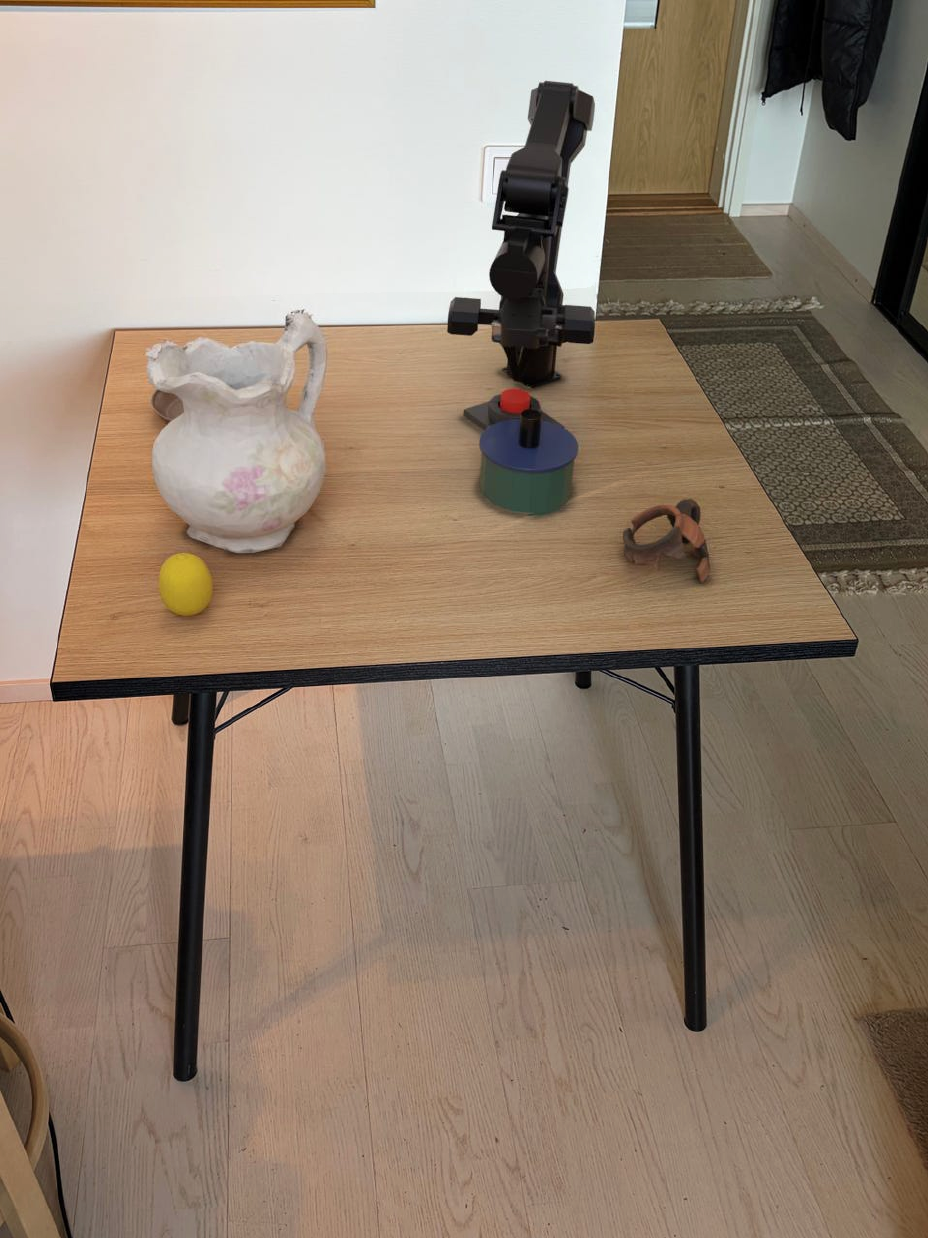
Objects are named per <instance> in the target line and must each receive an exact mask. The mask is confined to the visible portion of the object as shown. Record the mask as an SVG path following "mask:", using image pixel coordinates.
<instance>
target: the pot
mask: <svg viewBox="0 0 928 1238" xmlns="http://www.w3.org/2000/svg"><path fill="white" fill-rule="evenodd" d="M480 456H481V457H480V470H479V471H480V474H479V489H480V491H481V493H482V495H483V497H484V498H486V499H487V500H488V501H489V502H490V503H492V505H494V506H497V507H499V508H502V509H505V510H507V511H510V512H517V513H518V512H519V513H526V514H527V515H526V517H536V516H544V515H548V514H553V513H555V512H557V511H558V510H560V509H563V508H564V507H565V506H566V505H567V503H568V502H569V499H570V497H571V492H572V485H573V476H574V467H575V460H576V458H575V459H574V461H573V462H571V463H570V464H569V465H567V466H565V467H563V468H561V469H558V470H555V471H550V472H544V473H525V472H518V471H513V470H509V469H506V468H503V467H500V466H498V465H496V464H494V463H492V462H491V461H489V460H488V459H487V458H486V457H485V456H484V455H483V454H482V453H481V455H480Z"/></svg>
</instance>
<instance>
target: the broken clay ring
mask: <svg viewBox="0 0 928 1238" xmlns="http://www.w3.org/2000/svg"><path fill="white" fill-rule="evenodd" d="M701 513H702V512H701V507H700V505H699V504H698V502H697V501H696V500H694V499H692V498H687V499H682V500H680V501H679V502H678V503H677V504H676V505H675V506H673V505H670V504H659V505H655V506H652V507H649V508H646V509H645V510H643V511H641V512H640V513H638V514H636V515H635V516H634V517H633V518H632V519H631V520H630V522H631V525H632V528H631V527H627V528H626V529H624V531H623V532H622V539H623V543H624V548H623V554H624V557H625V558H626V560H627V561H628V562H630V564H635V565H638V566H648V567H649V566H650V567H651V568H652V569H654V570H656V571H659V570H660V567H659V566H660V561H661V556H662V554H663V555H664V556H666V557H668V558H673V559H676V560H682V559H685V558H686V557H687V554H686V552H685V550H684V545H689V544H690V545H691V546H693V547H694V557H697V558H699V559H700V560H701V561H700V563H699V564H698V566H697V567H696V568H695V571H696V573H697V575H698V581H699V583H703V582H704V581H705V580H706V579H707V577H708V576H709V573H710V570H711V565H710V555H709V551H708V545H707V541H706V539H705V534H704V533H703V530H702V529H701V526H700V522H701ZM663 516H666V519H667V520H668V521H669V524H670V526H671V530H670V531H669V532H668V533H667V534H666V535H664V536H663V537H661V538H659V539H658V540H656V541H653V542H650V543H644V544H643V543H642V544H641V543H640V544H639V543H637V542H636V539H635V534H636V532H637V531H638V530H639V529H640V528H642V527H643V526H644V525H645V524H647V523H649V522H650V521H653V520H654V519H657V518H660V517H663Z"/></svg>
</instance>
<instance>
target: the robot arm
mask: <svg viewBox="0 0 928 1238" xmlns="http://www.w3.org/2000/svg"><path fill="white" fill-rule="evenodd" d="M595 109H596V103H595V98H594V96H593V95H591V94H589V93H587V92H586V91H583V90H582V89H580V88H579V86H578V85H575V84H574V83H572V82H563V81H554V80H544V81H543V82H542V81H541V82H539V83H538V85H537V87H535V88H533V89H531V91H530V97H529V105H528V113H527V121H528V123H529V124H530V128H529V130H528V134H527V138H526V140H525V144H524V146H523V147H521V148H520V149H518V150H516V151H514V152H513V153H511V155H510V157H509V160H508V162H507V165H506V167H505V170H504V169H502V170H501V171H500V174H499V179H498V185H497V192H496V198H495V205H494V210H493V216H492V223H491V230H492V231H498V232H499V231H501V232H503V241H502V243H501V245H500V246H499V249H498V251H497V253H496V255H495V257H494V258H493V261H492V263H491V265H490V268H489V272H488V273H489V274H488V277H489V282H490V284H491V286H492V288H493V290H494V291H495V292H496V293H497V294H498V295H499V296H500V300H499V304H498V309H494V308H493V309H492V308H482V298H475V297H460V296H455V297H454V298H453V299H452V300H451V301H450V302H449V307H448V314H447V326H446V327H447V328H446V329H447V330H446V333H448V334H449V335H454V336H455V335H456V336H467V337H471V336H473V335H474V334H475V333H477V332H478V329H479V325H486V326H491V330H492V332H491V341H492V342H493V343H494V344H495V343H496V344H499V345H500V346H501V347H502V350H503V351H504V354H505V356H506V359H507V364H506V366H505V367H502V369H501V370H502V371H503V372H504V373H506V375H507V376H509V377H510V378H512V380H513V382H519V383H521V384H522V385H523V386H525V387H527V388H528V387H529V388H531V389H533V388H536V387H539V386H543V385H547V384H549V383H552V382H556V381H558V380H559V381H560V380H561V379H562V374H560V373H559V372H557V371H556V360H557V359H556V358H557V349H558V348H562V345H563V344H567V343H568V344H578V345H579V344H581V345H591V344H593V343H594V341H595V331H596V313H595V310H594V309H593V307H592V306H589V305H588V306H586V305H575V304H564V291H563V288H562V286H561V283H560V281H559V279H558V276H557V266H558V260H559V259H558V258H559V252H560V245H561V237H562V230H563V225H564V219H565V214H566V209H567V203H568V197H569V191H570V190H569V189H570V188H569V182H570V181H569V180H570V175H571V167H572V163H573V162H574V161H575V159H576V158H577V157H578V155H579V154H580V153H581V152H582V150H583V149H584V148H585V146H586V141H587V135H588V132H592V130H593V126H594V119H595V112H596V111H595ZM503 210H504V212H507V213H514V214H515V213H516V214H517V215H512V214H503Z"/></svg>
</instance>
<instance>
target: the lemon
mask: <svg viewBox="0 0 928 1238" xmlns="http://www.w3.org/2000/svg"><path fill="white" fill-rule="evenodd" d="M213 589H214V588H213V579H212V576H211V573H210V570H209V568H208V566H207V564H206V563H205V562H204V560H203V559H202V558H200V557H199V556H197V555H195V554H192V553H188V552H179V553H176V554H173V555H171V556H170V557H168V558H167V559H166V560H165V561H164V562H163V564H162V566H161V568H160V571H159V574H158V592H159V596H160V598H161V601H162V603H163V605H164V606H165V607H166V608H167V609H168V610H169V611H170V612H172V613H174V614H175V615H178V616H180V617H181V616H182V617H191V616H195V615H197V614H199V613H201V612H203V611H204V610H205V609H206V608H207V606H208V605H209V603H210V601H211V599H212V596H213Z"/></svg>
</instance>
